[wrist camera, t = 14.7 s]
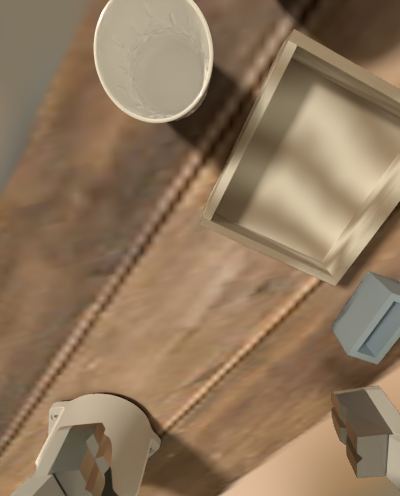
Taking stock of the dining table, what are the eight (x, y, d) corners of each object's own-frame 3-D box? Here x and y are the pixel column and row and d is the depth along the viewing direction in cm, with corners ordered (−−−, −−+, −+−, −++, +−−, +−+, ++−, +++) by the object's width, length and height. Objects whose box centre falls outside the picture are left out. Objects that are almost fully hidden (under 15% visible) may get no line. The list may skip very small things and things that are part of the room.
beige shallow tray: (320, 267, 34) (335, 286, 30) (201, 212, 33) (199, 224, 28) (423, 123, 28) (459, 122, 24) (281, 45, 26) (294, 29, 22)
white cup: (231, 74, 27) (238, 46, 18) (180, 141, 30) (165, 147, 21) (165, 11, 26) (137, -56, 16) (118, 88, 28) (71, 67, 19)
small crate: (358, 336, 38) (377, 364, 33) (331, 327, 38) (347, 354, 33) (397, 281, 35) (425, 304, 30) (368, 271, 34) (391, 292, 30)
